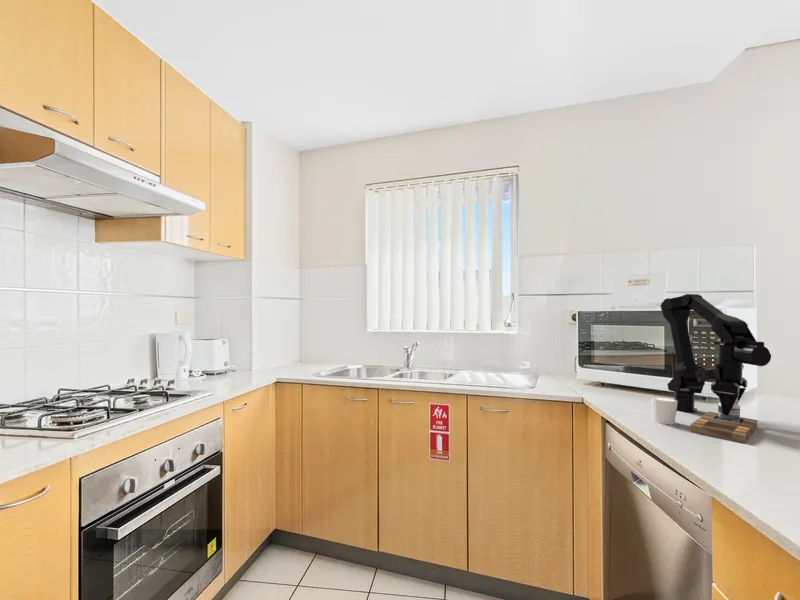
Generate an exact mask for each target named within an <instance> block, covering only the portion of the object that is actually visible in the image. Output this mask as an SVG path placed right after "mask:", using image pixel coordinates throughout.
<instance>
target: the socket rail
mask: <svg viewBox="0 0 800 600" xmlns="http://www.w3.org/2000/svg"><path fill="white" fill-rule="evenodd" d="M757 427H758V419H752V418H747V417H743V416H742V417H741V416H740V423H736V422H730V421H725V420H719V419H718V412H714V411H707V412H706V413H705V414H703V415H702V416H701V417H699V418H697V419H696V420H694V421H693V422H692V423H691V424H690V433H693V432H695V433H694V434H698V433H699V434H700V435H703V434H704V436H708V437H712V436H713V438H717V437H718V439H722V438H723V440H728V441H732V442H737V443H742V444H746V442H747V441H748V439H749V438H750V437H751V435H752V434H753V433H754V432H755V430H756V429H757Z"/></svg>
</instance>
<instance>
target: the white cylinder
mask: <svg viewBox="0 0 800 600" xmlns="http://www.w3.org/2000/svg"><path fill="white" fill-rule="evenodd" d="M674 399H675V398H674ZM674 399H673V398H670V397H661V396H652V397H651V399H650V400H651V409H652V412H651V413H652V421H653V422H654V423H658V424H662V425H668V424H669V426H672V424H673V425H675V424H676V416H677V411H678V410H677V404H678V401H677V400H674Z"/></svg>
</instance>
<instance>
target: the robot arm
mask: <svg viewBox="0 0 800 600" xmlns="http://www.w3.org/2000/svg"><path fill="white" fill-rule="evenodd" d="M660 310H661V312H662V316H663V318H664V319H665V320H666V321H667V322H668V323H669V325H670V331H671V335H672V342H673V347H674V351H675V357H676V365H675V367H674V370H673V378H672V379H671V380H670V381H669V382H668V383H667V389H668V391H671V392H674V400H677V401H678V404H677V411H681V410H682V411H681V412H686V411H688V413H692V412H693V413H695V412H697V410H698V408H697V407H695V397H696V396H695V394H702V393H703V389H704V386H705V384H706V381H710V380H714V381H713V382H712V383H711V384H710V390H711V392H712V393H713V394H715V395H716V396H717V397H718V398H719V403H721V407H722V410H723V414H724V415H729V413H730V411H731V409H732V407H733V405H734V403H735V402H736V400H737V398H738V402H737V404H738V403H739V402H740V401H741V398H742V396H743V395H744V393H745V391H746V390H747V387H748V381H747V379H745V377H743V369H744V364H746V365H752V366H756V367H765V366H767V365H768V364H769V363H770V362H771V360H772V354H771V352H770V349H768V348H767V347H766V346H765V342H764V341H757V339H755V338H756V337H754V335H753V333H752V332H751V330H750V328H749V324H748V323H747V322H746V321H744V320H743V319H741V318H738V317H735V316H732V315H728V314H726V313H725V312H722V311H721V310H720V309H718V308H717V307H716V306H714V305H713V304H712V303H710V302H709V301H707V300H706V299H705V298H704V297H703V296H702V294H698V293H696V294H695V293H686V294H684V295H682V296H677V297H671V298H669V297H668V298H665V299H663V301H662V302H661V303H660ZM691 311H693V312H695V313H696V314H697V315H698V316H700V317H701V318H702V319H703V320H705V321H706V322H708V323H709V324H710V327H711V331H712V332H714V334H715V335H716V336H717V337H718V339H716V340H714V341H713V345H717V346H718V363H717V364H716V365H715V367H713V368H712V367H711V368H708V369H707V368H706V366H705V367H703V366H700V365H698V364H697V363H696V362H695V358H694V352H693V348H692V342H691V338H690V332H689V327H688V319H689V318H690V315H691ZM738 405H739V404H738ZM694 411H695V412H694Z"/></svg>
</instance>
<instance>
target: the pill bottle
mask: <svg viewBox="0 0 800 600" xmlns="http://www.w3.org/2000/svg"><path fill="white" fill-rule="evenodd" d="M737 402H738V398H737V400H736V402H735V403H734V405H733V407H732V409H731V411H730V413H729V415H724V414H723V410H722V407H721V403H720V402H719V403H718V405H717V413H718V419H719V420H725V421H730V422H736V423H740V417H741V406H740V405H739V404H737ZM738 403H739V402H738Z"/></svg>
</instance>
